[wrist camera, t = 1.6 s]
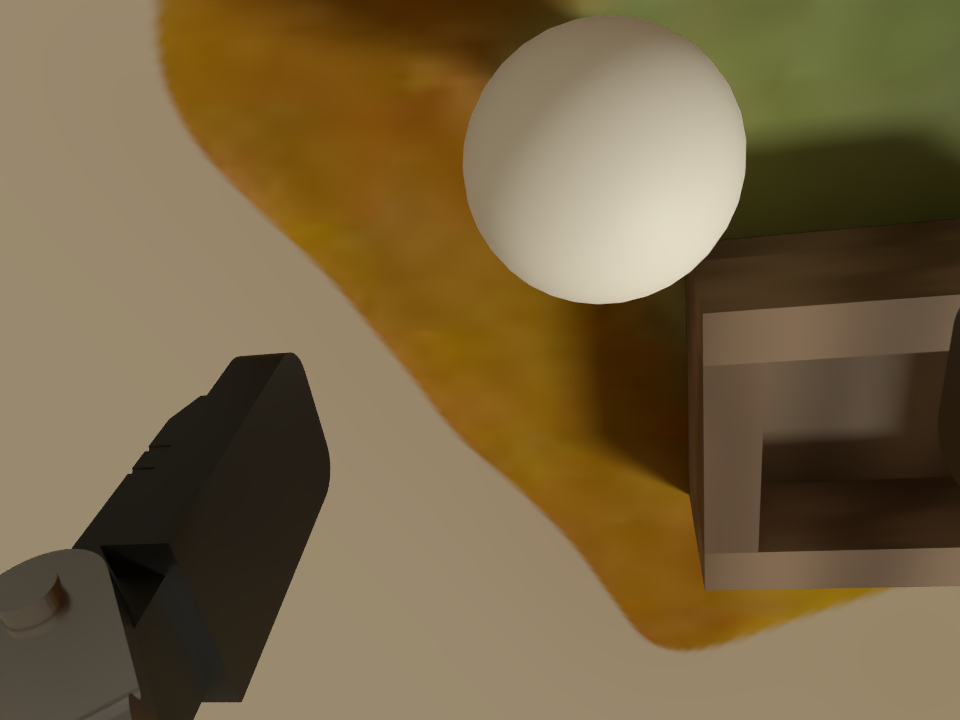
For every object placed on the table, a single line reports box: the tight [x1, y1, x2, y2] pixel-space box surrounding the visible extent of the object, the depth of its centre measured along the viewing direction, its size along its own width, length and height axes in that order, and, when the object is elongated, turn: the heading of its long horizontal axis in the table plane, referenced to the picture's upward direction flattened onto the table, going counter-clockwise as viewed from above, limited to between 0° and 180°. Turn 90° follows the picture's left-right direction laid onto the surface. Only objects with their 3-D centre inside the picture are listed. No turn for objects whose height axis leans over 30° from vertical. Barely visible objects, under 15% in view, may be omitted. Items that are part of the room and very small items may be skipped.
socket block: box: [685, 219, 960, 590], centre depth 26 cm, size 11×11×5 cm
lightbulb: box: [463, 15, 746, 304], centre depth 20 cm, size 6×6×11 cm
